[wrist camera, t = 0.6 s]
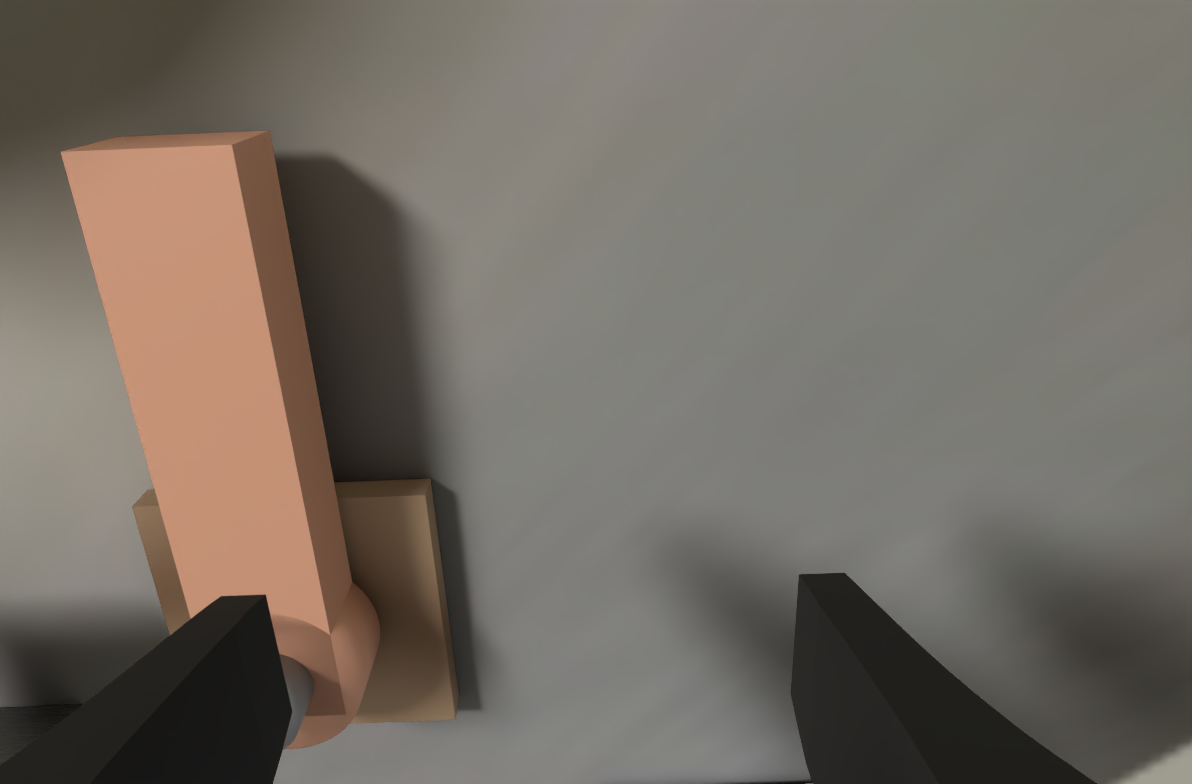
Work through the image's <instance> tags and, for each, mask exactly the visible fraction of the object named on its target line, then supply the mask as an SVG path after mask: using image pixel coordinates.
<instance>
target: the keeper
mask: <svg viewBox="0 0 1192 784" xmlns="http://www.w3.org/2000/svg"><path fill="white" fill-rule="evenodd" d="M80 706H82V705H59V706H33V707H8V708H0V765H1V764H2V763H4V762H5V761H7V760H8V759H10V758H11V757H13V756H14V755H15V754H17V753H18V752H20V751H21V750H22V749H24V748H25V747H26V746H28V745H29V744H30V743H32V742H33V741H34V740H36V739H37V738H38V737H40V736H41V735H43V734H44V733H45V732H47V731H48V730H49V729H51V728H52V727H53V726H55V725H56V724H57V723H59V722H60V721H61V720H63V719H64V718H66V717H67V716H68V715H70V714H71V713H72V712H74V711H75V710H76V709H78V708H79V707H80Z"/></svg>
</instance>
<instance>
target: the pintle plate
mask: <svg viewBox="0 0 1192 784" xmlns="http://www.w3.org/2000/svg"><path fill="white" fill-rule="evenodd" d="M334 485H335V491H336V496H337V502H338V507H339V513H340V518H341V524H342V529H343V535H344V540H345V545H346V551H347V556H348V562H349V567H350V573H351V578H352V582H353V583H354V584H356V585H357V586H358V587H359V588H360V589H361V590H362V591H363V592H364V593H365V595H366V596H367V597H368V598H369V600H370V601H371V603H372V605H373V606H374V608H375V611H376V613H377V615H378V619H379V623H380V631H381V635H380V643H379V647H378V651H377V654H376V657H375V660H374V663H373V666H372V669H371V672H370V676H369V679H368V682H367V685H366V688H365V691H364V694H363V697H362V700H361V704H360V707H359V709H358V711H357V713H356V715H355V717H354V718H353V720H352V721H351V723H350V724H354V723H379V722H404V721H430V720H455V719H456V714H457V709H458V703H459V691H458V684H457V676H456V668H455V661H454V653H453V646H452V638H451V630H450V623H449V615H448V607H447V600H446V592H445V585H444V577H443V569H442V562H441V554H440V547H439V539H438V531H437V524H436V516H435V508H434V501H433V493H432V486H431V479H408V480H383V481H358V482H334ZM132 508H133V512H134V515H135V518H136V522H137V525H138V529H139V532H140V535H141V539H142V542H143V546H144V549H145V553H146V556H147V559H148V563H149V566H150V570H151V573H152V576H153V580H154V583H155V587H156V590H157V593H158V597H159V600H160V604H161V607H162V610H163V614H164V617H165V621H166V624H167V628H168V631H169V634H170V635H171V634H172V633H174V632H175V631H176V630H177V629H179V628H180V627H181V626H182V625H184V624H185V623H186V622H187V621H189V620H190V619H191V618H190V615H189V611H188V607H187V604H186V600H185V597H184V593H183V589H182V586H181V582H180V579H179V575H178V572H177V568H176V564H175V561H174V557H173V554H172V550H171V546H170V543H169V539H168V536H167V532H166V528H165V525H164V521H163V518H162V514H161V511H160V507H159V503H158V500H157V496H156V493H155V490H147V491H146V492H145V493H144V494H143V496H142V497H141V498H140V499H139V500H138V501H137V502H136V503H135V504H134V505H133V506H132Z"/></svg>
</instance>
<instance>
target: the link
mask: <svg viewBox="0 0 1192 784" xmlns="http://www.w3.org/2000/svg"><path fill="white" fill-rule="evenodd" d="M61 155H62V159H63V163H64V166H65V170H66V173H67V177H68V180H69V184H70V188H71V191H72V195H73V198H74V202H75V206H76V209H77V213H78V216H79V220H80V224H81V227H82V231H83V234H84V238H85V241H86V245H87V249H88V252H89V256H90V259H91V263H92V267H93V270H94V274H95V277H96V281H97V285H98V288H99V292H100V295H101V299H102V302H103V306H104V310H105V313H106V317H107V320H108V324H109V328H110V331H111V335H112V338H113V342H114V346H115V349H116V353H117V356H118V360H119V363H120V367H121V371H122V374H123V378H124V381H125V385H126V389H127V392H128V396H129V399H130V403H131V406H132V410H133V414H134V417H135V421H136V424H137V428H138V432H139V435H140V439H141V442H142V446H143V450H144V453H145V457H146V460H147V464H148V467H149V471H150V475H151V478H152V482H153V485H154V489H155V493H156V496H157V500H158V503H159V507H160V511H161V514H162V518H163V521H164V525H165V528H166V532H167V536H168V539H169V543H170V546H171V550H172V554H173V557H174V561H175V564H176V568H177V572H178V575H179V579H180V582H181V586H182V589H183V593H184V597H185V600H186V604H187V607H188V611H189V615H190V618H192V617H194V616H195V615H196V614H198V613H199V612H200V611H201V610H203V609H204V608H205V607H207V606H208V605H209V604H211V603H212V602H213V601H215V600H216V599H218V598H219V597H220V596H237V595H264V594H266V598H267V602H268V607H269V611H270V615H271V620H272V624H273V628H274V633H275V637H276V642H277V646H278V650H279V655H280V659H281V664H282V668H283V672H284V677H285V681H286V685H287V690H288V694H289V699H290V703H291V707H292V715H291V719H290V723H289V727H288V731H287V734H286V738H285V742H284V746H283V749H297V748H304V747H309V746H313V745H316V744H320V743H322V742H325V741H327V740H329V739H331V738H333V737H334V736H336V735H337V734H339V733H340V732H341V731H343V730H344V729H345V728H346V727H347V726H348V725H349V724H350V723H351V721H352V720H353V718H354V717H355V715H356V713H357V711H358V709H359V707H360V704H361V700H362V697H363V694H364V691H365V688H366V685H367V682H368V679H369V676H370V672H371V669H372V666H373V663H374V660H375V657H376V654H377V651H378V647H379V643H380V635H381V631H380V623H379V619H378V615H377V613H376V611H375V608H374V606H373V605H372V603H371V601H370V600H369V598H368V597H367V596H366V595H365V593H364V592H363V591H362V590H361V589H360V588H359V587H358V586H357V585H356V584H354V583H353V582H352V578H351V573H350V567H349V562H348V556H347V551H346V545H345V540H344V535H343V529H342V524H341V518H340V513H339V507H338V502H337V496H336V491H335V485H334V480H333V474H332V469H331V463H330V458H329V452H328V447H327V441H326V436H325V431H324V425H323V420H322V414H321V409H320V403H319V398H318V392H317V387H316V381H315V376H314V370H313V365H312V359H311V354H310V348H309V343H308V337H307V332H306V327H305V321H304V316H303V310H302V305H301V299H300V294H299V288H298V283H297V277H296V272H295V266H294V261H293V255H292V250H291V244H290V239H289V234H288V228H287V223H286V217H285V212H284V206H283V201H282V195H281V190H280V184H279V179H278V173H277V168H276V162H275V157H274V151H273V146H272V140H271V135H270V131H246V132H222V133H198V134H174V135H149V136H125V137H114V138H111V139H107V140H103V141H99V142H96V143H92V144H88V145H84V146H81V147H77V148H73V149H69V150H66V151H62V152H61Z"/></svg>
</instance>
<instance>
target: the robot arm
mask: <svg viewBox="0 0 1192 784" xmlns="http://www.w3.org/2000/svg"><path fill="white" fill-rule="evenodd" d="M791 696H792V701H793V706H794V710H795V715H796V720H797V725H798V729H799V734H800V738H801V743H802V747H803V751H804V756H805V760H806V764H807V767H808V770H809V773H810V776H811V779H812V782H813V783H807V784H1097V783H1095V782H1094V781H1092V780H1091V779H1089V778H1088V777H1086V776H1085V775H1084V774H1082V773H1081V772H1079V771H1078V770H1076V769H1075V768H1074V767H1072V766H1071V765H1069V764H1068V763H1066V762H1065V761H1063V760H1062V759H1061V758H1059V757H1058V756H1056V755H1055V754H1053V753H1052V752H1050V751H1049V750H1048V749H1046V748H1045V747H1043V746H1042V745H1040V744H1039V743H1038V742H1036V741H1035V740H1034V739H1032V738H1031V737H1030V736H1028V735H1027V734H1026V733H1024V732H1023V731H1022V730H1020V729H1019V728H1018V727H1016V726H1015V725H1014V724H1012V723H1011V722H1010V721H1009V720H1007V719H1006V718H1005V717H1004V716H1002V715H1001V714H1000V713H999V712H997V711H996V710H995V709H994V708H992V707H991V706H990V705H989V704H987V703H986V702H985V701H984V700H982V699H981V698H980V697H979V696H977V695H976V694H975V693H974V692H973V691H971V690H970V689H969V688H968V687H967V686H966V685H964V684H963V683H962V682H961V681H960V680H958V679H957V678H956V677H955V676H954V675H953V674H951V673H950V672H949V671H948V670H947V669H946V668H945V667H944V666H942V665H941V664H940V663H939V662H938V661H937V660H936V659H935V658H934V657H932V656H931V655H930V654H929V653H928V652H927V651H926V650H925V649H924V648H922V647H921V646H920V645H919V644H918V643H917V642H916V641H915V640H914V639H913V638H912V637H911V636H910V635H909V634H908V633H906V632H905V631H904V630H903V629H902V628H901V627H900V626H899V625H898V624H897V623H896V622H895V621H894V620H893V619H892V618H891V617H890V616H889V615H888V614H887V613H886V612H885V611H884V610H883V609H881V608H880V607H879V606H878V605H877V604H876V603H875V602H874V601H873V600H872V599H871V598H870V597H869V596H868V595H867V594H866V593H865V592H864V591H863V590H862V589H861V588H860V587H859V586H858V585H857V584H856V583H855V582H854V581H852V580H851V579H850V578H849V577H848V576H847V575H846V574H845V573H828V574H801V575H799V583H798V598H797V612H796V627H795V641H794V655H793V670H792V684H791ZM291 715H292V707H291V703H290V699H289V694H288V690H287V685H286V681H285V677H284V672H283V668H282V664H281V659H280V655H279V650H278V646H277V642H276V637H275V633H274V628H273V624H272V620H271V615H270V611H269V607H268V602H267V598H266V594H264V595H237V596H220V597H219V598H218V599H216V600H215V601H213V602H212V603H211V604H209V605H208V606H207V607H205V608H204V609H203V610H201V611H200V612H199V613H198V614H196V615H195V616H194V617H192V618H191V619H190V620H189V621H187V622H186V623H185V624H184V625H182V626H181V627H180V628H179V629H177V630H176V631H175V632H174V633H172V634H171V635H170V636H169V637H168V638H166V639H165V640H164V641H163V642H161V643H160V644H159V645H158V646H156V647H155V648H154V649H153V650H151V651H150V652H149V653H148V654H147V655H145V656H144V657H143V658H142V659H140V660H139V661H138V662H137V663H135V664H134V665H133V666H131V667H130V668H129V669H128V670H126V671H125V672H124V673H123V674H121V675H120V676H119V677H118V678H116V679H115V680H114V681H113V682H111V683H110V684H109V685H108V686H106V687H105V688H104V689H103V690H101V691H100V692H99V693H98V694H96V695H95V696H94V697H92V698H91V699H90V700H89V701H87V702H86V703H84V704H83V705H82V706H80V707H79V708H78V709H76V710H75V711H74V712H72V713H71V714H70V715H68V716H67V717H66V718H64V719H63V720H61V721H60V722H59V723H57V724H56V725H55V726H53V727H52V728H51V729H49V730H48V731H47V732H45V733H44V734H43V735H41V736H40V737H38V738H37V739H36V740H34V741H33V742H32V743H30V744H29V745H28V746H26V747H25V748H24V749H22V750H21V751H20V752H18V753H17V754H15V755H14V756H13V757H11V758H10V759H8V760H7V761H5V762H4V763H2V764H1V765H0V784H273V781H274V777H275V774H276V770H277V767H278V764H279V760H280V757H281V753H282V750H283V746H284V742H285V738H286V734H287V731H288V727H289V723H290V719H291Z"/></svg>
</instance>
